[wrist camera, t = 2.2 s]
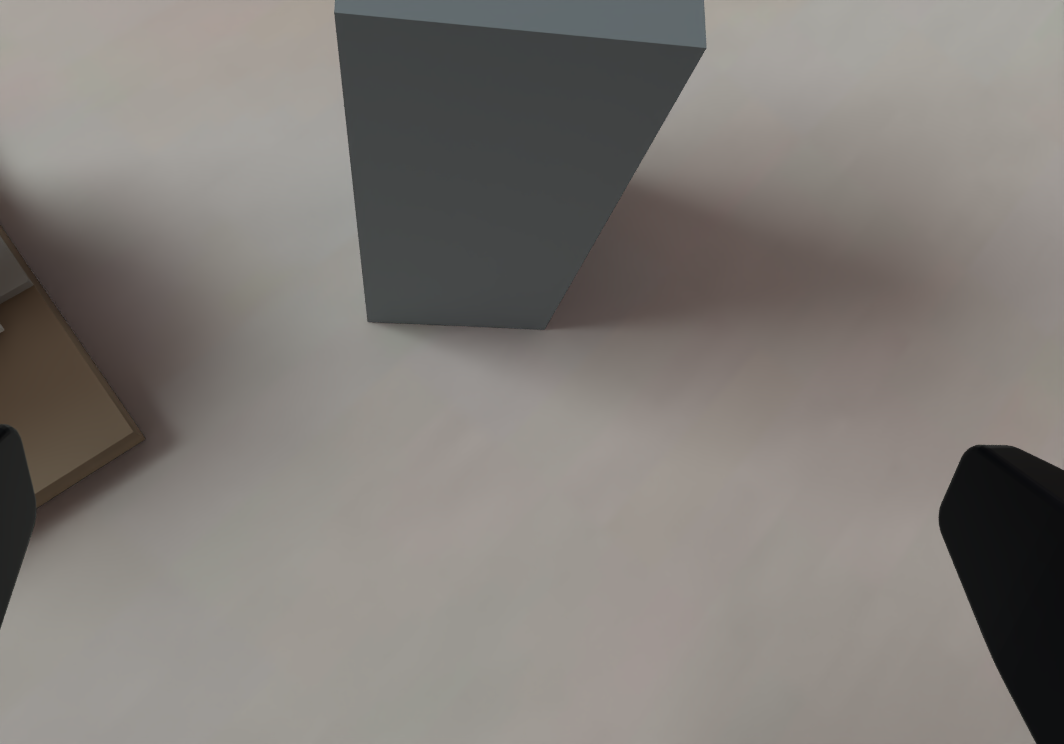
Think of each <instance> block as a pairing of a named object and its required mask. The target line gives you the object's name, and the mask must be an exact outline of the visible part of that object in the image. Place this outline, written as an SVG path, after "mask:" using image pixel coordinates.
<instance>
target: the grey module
mask: <svg viewBox="0 0 1064 744" xmlns="http://www.w3.org/2000/svg"><path fill="white" fill-rule="evenodd" d="M334 14H335V23H336V33H337V42H338V51H339V61H340V70H341V79H342V89H343V98H344V107H345V116H346V126H347V135H348V144H349V154H350V163H351V172H352V182H353V191H354V200H355V210H356V219H357V228H358V237H359V247H360V256H361V265H362V275H363V284H364V293H365V303H366V312H367V321H368V322H385V323H407V324H429V325H452V326H474V327H497V328H519V329H541V330H544V329H545V328H546V326H547V324H548V322H549V321H550V319H551V317H552V315H553V314H554V312H555V310H556V309H557V307H558V305H559V303H560V302H561V300H562V298H563V296H564V295H565V293H566V291H567V289H568V288H569V286H570V284H571V282H572V281H573V279H574V277H575V276H576V274H577V272H578V270H579V269H580V267H581V265H582V263H583V262H584V260H585V258H586V256H587V255H588V253H589V251H590V249H591V248H592V246H593V244H594V243H595V241H596V239H597V237H598V236H599V234H600V232H601V230H602V229H603V227H604V225H605V223H606V222H607V220H608V218H609V216H610V215H611V213H612V211H613V209H614V208H615V206H616V204H617V203H618V201H619V199H620V197H621V196H622V194H623V192H624V190H625V189H626V187H627V185H628V183H629V182H630V180H631V178H632V176H633V175H634V173H635V171H636V170H637V168H638V166H639V164H640V163H641V161H642V159H643V157H644V156H645V154H646V152H647V150H648V149H649V147H650V145H651V143H652V142H653V140H654V138H655V137H656V135H657V133H658V131H659V130H660V128H661V126H662V124H663V123H664V121H665V119H666V117H667V116H668V114H669V112H670V110H671V109H672V107H673V105H674V103H675V102H676V100H677V98H678V97H679V95H680V93H681V91H682V90H683V88H684V86H685V84H686V83H687V81H688V79H689V77H690V76H691V74H692V72H693V70H694V69H695V67H696V65H697V64H698V62H699V60H700V58H701V57H702V55H703V53H704V51H705V50H706V31H705V12H704V0H335V10H334Z"/></svg>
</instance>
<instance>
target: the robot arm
mask: <svg viewBox="0 0 1064 744" xmlns="http://www.w3.org/2000/svg"><path fill="white" fill-rule="evenodd" d="M35 519H36V497H35V493H34V489H33V484H32V480H31V476H30V472H29V468H28V464H27V459H26V455H25V451H24V447H23V443H22V440H21V437H20V435H19V433H18V431H17V430H16V429H15V428H13V427H12V426H10V425H8V424H0V629H1V625H2V622H3V619H4V616H5V613H6V610H7V607H8V604H9V601H10V598H11V595H12V592H13V589H14V586H15V583H16V580H17V577H18V574H19V571H20V568H21V565H22V561H23V558H24V555H25V552H26V549H27V546H28V543H29V540H30V537H31V534H32V531H33V528H34V524H35ZM939 526H940V531H941V534H942V536H943V539H944V541H945V544H946V546H947V549H948V551H949V554H950V556H951V559H952V561H953V564H954V566H955V569H956V571H957V573H958V576H959V578H960V581H961V583H962V586H963V588H964V591H965V593H966V596H967V598H968V601H969V603H970V606H971V608H972V610H973V613H974V615H975V618H976V620H977V623H978V625H979V628H980V630H981V633H982V635H983V638H984V640H985V642H986V645H987V647H988V649H989V652H990V654H991V656H992V658H993V661H994V663H995V665H996V667H997V669H998V671H999V673H1000V675H1001V677H1002V679H1003V681H1004V683H1005V685H1006V687H1007V689H1008V691H1009V693H1010V695H1011V697H1012V698H1013V700H1014V702H1015V704H1016V706H1017V708H1018V710H1019V712H1020V714H1021V716H1022V718H1023V719H1024V721H1025V723H1026V725H1027V727H1028V729H1029V731H1030V733H1031V735H1032V737H1033V738H1034V740H1035V742H1036V744H1064V470H1062V469H1060V468H1058V467H1056V466H1054V465H1052V464H1050V463H1048V462H1046V461H1044V460H1042V459H1040V458H1037V457H1035V456H1033V455H1031V454H1029V453H1027V452H1025V451H1023V450H1021V449H1019V448H1016V447H1013V446H1008V445H975V446H973V447H970V448H969V449H968V450H967V451H966V452H965V453H964V454H963V456H962V458H961V460H960V462H959V464H958V467H957V469H956V471H955V473H954V476H953V478H952V480H951V483H950V485H949V487H948V489H947V492H946V494H945V496H944V499H943V501H942V503H941V506H940V510H939Z"/></svg>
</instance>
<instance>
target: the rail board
mask: <svg viewBox="0 0 1064 744" xmlns="http://www.w3.org/2000/svg"><path fill="white" fill-rule="evenodd" d="M0 424H8V425H10V426H12V427H13V428H15V429H16V430H17V431H18V433H19V435H20V437H21V440H22V443H23V447H24V451H25V455H26V459H27V464H28V468H29V472H30V476H31V480H32V484H33V489H34V493H35V497H36V508H38V507H39V506H41V505H42V504H44V503H45V502H47V501H49V500H50V499H52V498H53V497H55V496H57V495H58V494H60V493H61V492H63V491H64V490H66V489H68V488H69V487H71V486H72V485H74V484H75V483H77V482H79V481H80V480H82V479H83V478H85V477H86V476H88V475H90V474H91V473H93V472H94V471H96V470H98V469H99V468H101V467H102V466H104V465H105V464H107V463H109V462H110V461H112V460H113V459H115V458H116V457H118V456H120V455H121V454H123V453H124V452H126V451H127V450H129V449H131V448H132V447H134V446H135V445H137V444H138V443H140V442H142V441H143V440H145V437H144V436H143V434H142V433H141V431H140V430H139V428H138V427H137V425H136V424H135V423H134V421H133V420H132V418H131V417H130V415H129V414H128V412H127V411H126V409H125V408H124V406H123V405H122V403H121V402H120V401H119V399H118V398H117V396H116V395H115V393H114V392H113V390H112V389H111V387H110V386H109V384H108V383H107V381H106V380H105V378H104V377H103V376H102V374H101V373H100V371H99V370H98V368H97V367H96V365H95V364H94V362H93V361H92V359H91V358H90V356H89V355H88V353H87V352H86V351H85V349H84V348H83V346H82V345H81V343H80V342H79V340H78V339H77V337H76V336H75V334H74V333H73V331H72V330H71V328H70V327H69V326H68V324H67V323H66V321H65V320H64V318H63V317H62V315H61V314H60V312H59V311H58V309H57V308H56V306H55V305H54V303H53V302H52V301H51V299H50V298H49V296H48V295H47V293H46V292H45V290H44V289H43V287H42V286H41V284H40V283H39V281H38V280H37V278H36V277H35V276H34V274H33V273H32V271H31V270H30V268H29V267H28V265H27V264H26V262H25V261H24V259H23V258H22V256H21V255H20V253H19V252H18V251H17V249H16V248H15V246H14V245H13V243H12V242H11V240H10V239H9V237H8V236H7V234H6V233H5V231H4V230H3V228H2V227H1V226H0Z"/></svg>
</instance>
